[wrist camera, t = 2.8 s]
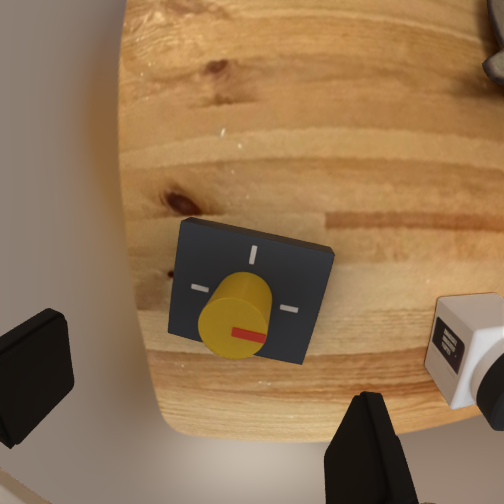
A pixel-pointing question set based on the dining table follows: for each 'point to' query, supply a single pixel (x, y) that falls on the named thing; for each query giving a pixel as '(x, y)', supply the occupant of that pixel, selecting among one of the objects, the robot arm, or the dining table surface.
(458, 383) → the container
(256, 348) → the yellow dial knob
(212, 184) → the dining table surface
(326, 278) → the dial base
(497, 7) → the oil lamp
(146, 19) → the dining table surface
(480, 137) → the dining table surface
